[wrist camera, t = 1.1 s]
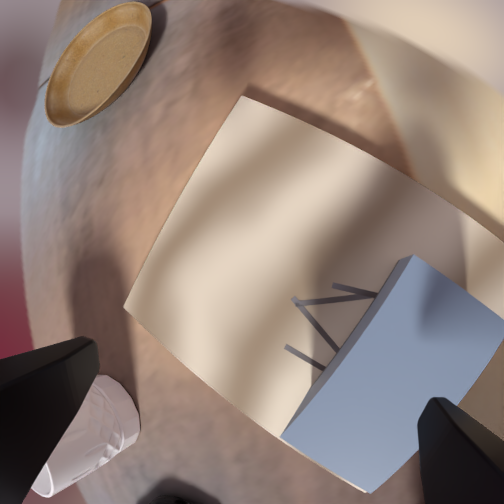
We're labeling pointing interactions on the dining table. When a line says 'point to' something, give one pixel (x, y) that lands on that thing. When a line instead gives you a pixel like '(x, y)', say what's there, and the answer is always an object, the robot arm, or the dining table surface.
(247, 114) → the board
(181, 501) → the carrying case or bag
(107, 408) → the white cup
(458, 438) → the robot arm
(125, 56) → the plant saucer
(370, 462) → the block
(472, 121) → the dining table surface
